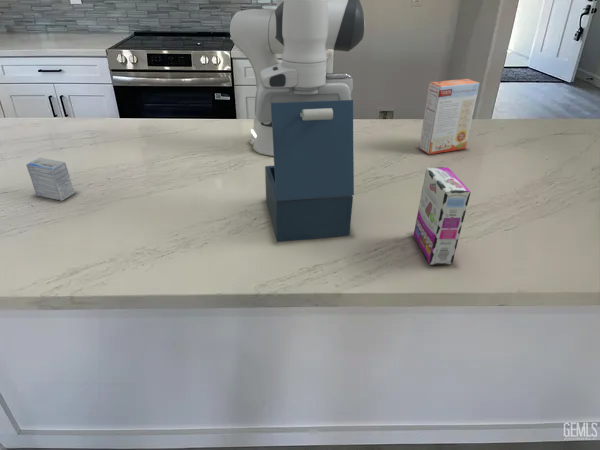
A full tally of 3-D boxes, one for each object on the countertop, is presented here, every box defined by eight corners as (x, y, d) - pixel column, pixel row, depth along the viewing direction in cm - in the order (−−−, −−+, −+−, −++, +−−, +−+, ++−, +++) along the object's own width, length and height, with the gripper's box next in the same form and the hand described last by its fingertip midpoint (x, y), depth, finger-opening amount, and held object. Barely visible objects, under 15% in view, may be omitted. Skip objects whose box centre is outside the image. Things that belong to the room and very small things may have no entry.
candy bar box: (453, 265, 87) (472, 191, 79) (429, 266, 87) (445, 192, 78) (434, 234, 97) (449, 165, 88) (412, 235, 96) (425, 166, 88)
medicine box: (75, 193, 110) (66, 161, 105) (61, 201, 106) (51, 168, 102) (50, 188, 112) (40, 156, 107) (36, 196, 108) (25, 163, 104)
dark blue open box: (266, 201, 108) (265, 166, 103) (329, 197, 111) (331, 162, 106) (276, 242, 93) (276, 202, 88) (349, 235, 96) (353, 196, 91)
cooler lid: (270, 103, 84) (274, 102, 79) (351, 100, 86) (360, 99, 81) (276, 200, 88) (279, 205, 83) (352, 194, 91) (360, 199, 86)
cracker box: (454, 143, 144) (467, 77, 133) (466, 149, 140) (481, 82, 129) (417, 148, 140) (428, 80, 129) (428, 155, 135) (441, 85, 124)
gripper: (349, 69, 93) (344, 132, 100) (252, 71, 89) (254, 136, 97) (358, 76, 88) (352, 142, 95) (255, 79, 84) (257, 147, 91)
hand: (302, 139), depth 96 cm, fingers closed on shot glass, 5 cm apart
